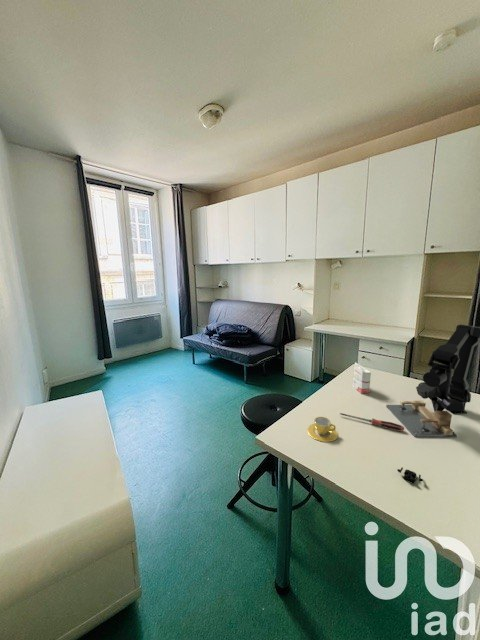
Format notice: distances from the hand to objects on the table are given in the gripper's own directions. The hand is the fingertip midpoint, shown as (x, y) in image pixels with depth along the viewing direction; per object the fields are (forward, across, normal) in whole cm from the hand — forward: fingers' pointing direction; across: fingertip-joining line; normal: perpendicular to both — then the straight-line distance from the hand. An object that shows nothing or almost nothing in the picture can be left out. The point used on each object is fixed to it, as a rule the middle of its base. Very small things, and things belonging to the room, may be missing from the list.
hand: (436, 414), depth 107 cm
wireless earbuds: (+6, +28, -26) cm, 38 cm away
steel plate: (+5, -3, -5) cm, 8 cm away
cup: (+6, +5, -48) cm, 48 cm away
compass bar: (+4, -3, -3) cm, 6 cm away
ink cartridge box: (+5, -31, -18) cm, 37 cm away
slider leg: (+4, +3, -3) cm, 6 cm away
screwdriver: (+6, -1, -26) cm, 27 cm away
